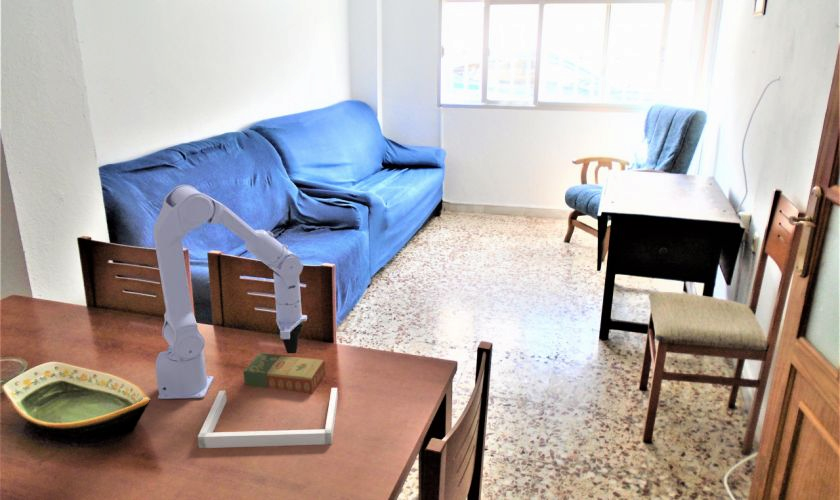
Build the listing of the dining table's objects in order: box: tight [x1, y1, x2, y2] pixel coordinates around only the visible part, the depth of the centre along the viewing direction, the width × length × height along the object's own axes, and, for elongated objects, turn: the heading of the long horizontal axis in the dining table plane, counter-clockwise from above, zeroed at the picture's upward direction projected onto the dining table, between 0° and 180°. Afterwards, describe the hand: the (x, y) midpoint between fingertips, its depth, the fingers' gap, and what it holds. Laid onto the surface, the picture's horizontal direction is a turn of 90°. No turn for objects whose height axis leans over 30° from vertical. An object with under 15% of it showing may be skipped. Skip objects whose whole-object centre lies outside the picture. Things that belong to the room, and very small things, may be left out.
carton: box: [243, 352, 327, 394], centre depth 130 cm, size 8×16×4 cm, turn 79°
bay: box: [197, 387, 339, 449], centre depth 116 cm, size 24×15×2 cm, turn 93°
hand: (292, 351), depth 140 cm, fingers closed
